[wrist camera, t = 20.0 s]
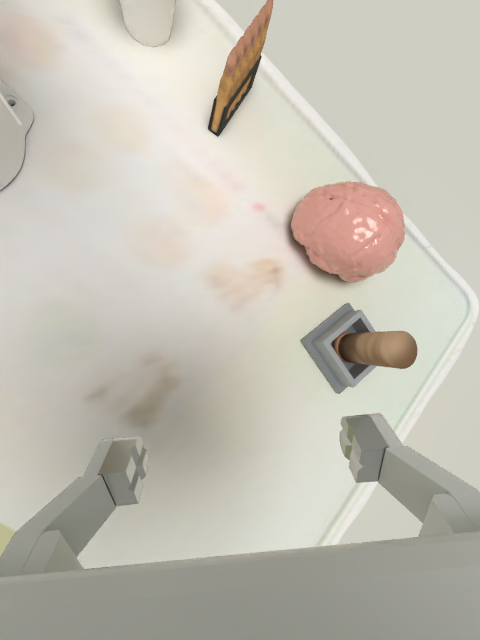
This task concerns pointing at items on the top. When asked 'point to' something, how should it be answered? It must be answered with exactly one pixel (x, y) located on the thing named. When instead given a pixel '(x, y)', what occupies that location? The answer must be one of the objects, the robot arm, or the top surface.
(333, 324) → the socket block
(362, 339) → the brown rounded peg
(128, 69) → the top surface
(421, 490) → the robot arm
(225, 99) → the ammunition clip
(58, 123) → the top surface
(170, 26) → the foam cup
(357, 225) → the brain
